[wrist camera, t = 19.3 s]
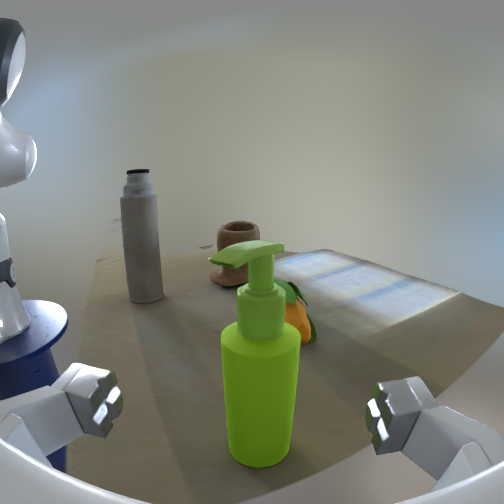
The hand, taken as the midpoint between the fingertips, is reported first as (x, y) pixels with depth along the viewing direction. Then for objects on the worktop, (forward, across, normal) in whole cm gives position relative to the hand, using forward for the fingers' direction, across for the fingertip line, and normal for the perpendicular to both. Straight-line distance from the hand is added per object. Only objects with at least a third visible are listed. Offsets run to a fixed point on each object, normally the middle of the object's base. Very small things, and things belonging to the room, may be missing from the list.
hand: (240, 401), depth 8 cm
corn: (+38, -4, +18) cm, 42 cm away
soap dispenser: (+12, 0, +18) cm, 21 cm away
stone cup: (+64, +6, +18) cm, 66 cm away
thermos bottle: (+51, +26, +18) cm, 60 cm away
